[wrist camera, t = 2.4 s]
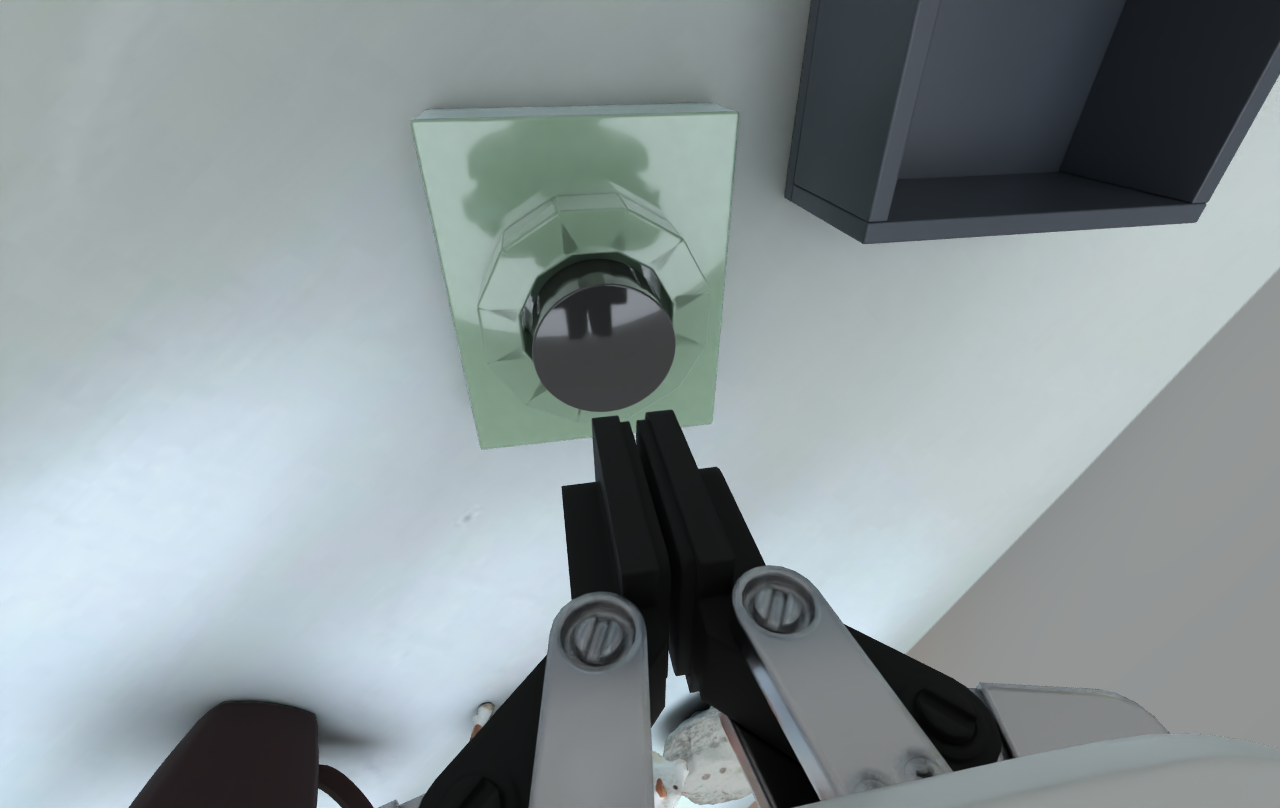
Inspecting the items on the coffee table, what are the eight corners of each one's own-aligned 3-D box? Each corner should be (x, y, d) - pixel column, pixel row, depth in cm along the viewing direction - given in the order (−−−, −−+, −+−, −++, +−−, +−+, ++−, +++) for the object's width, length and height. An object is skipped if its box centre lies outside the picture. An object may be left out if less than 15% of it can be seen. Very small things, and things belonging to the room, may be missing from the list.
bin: (848, -272, 13) (1016, -435, 9) (1220, -240, 15) (1526, -364, 10) (783, 197, 20) (862, 245, 15) (1052, 184, 21) (1197, 223, 17)
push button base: (424, 109, 16) (395, 128, 13) (713, 102, 18) (763, 118, 14) (484, 410, 22) (476, 483, 19) (695, 389, 24) (727, 452, 20)
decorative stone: (751, 751, 45) (774, 823, 41) (636, 747, 41) (648, 825, 37) (838, 666, 40) (874, 738, 35) (714, 651, 36) (739, 730, 31)
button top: (523, 262, 15) (523, 289, 14) (662, 253, 16) (679, 278, 14) (538, 383, 17) (540, 419, 16) (660, 371, 18) (674, 405, 16)
